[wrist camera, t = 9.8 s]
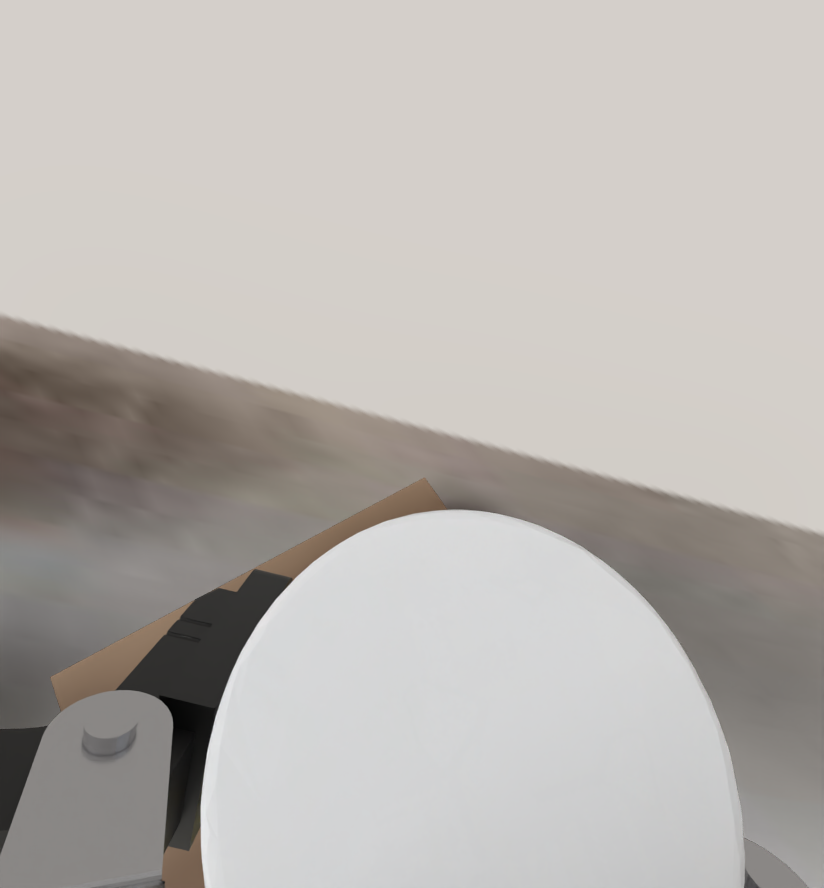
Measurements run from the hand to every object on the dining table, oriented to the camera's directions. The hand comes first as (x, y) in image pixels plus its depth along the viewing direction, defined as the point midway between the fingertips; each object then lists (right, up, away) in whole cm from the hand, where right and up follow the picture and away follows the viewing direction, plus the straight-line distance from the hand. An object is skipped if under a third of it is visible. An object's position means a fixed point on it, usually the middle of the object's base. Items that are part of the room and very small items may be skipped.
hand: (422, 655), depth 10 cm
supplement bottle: (-1, -4, +3) cm, 5 cm away
